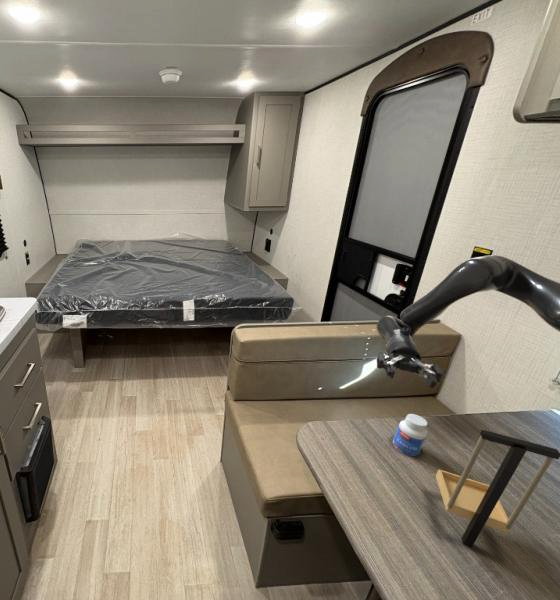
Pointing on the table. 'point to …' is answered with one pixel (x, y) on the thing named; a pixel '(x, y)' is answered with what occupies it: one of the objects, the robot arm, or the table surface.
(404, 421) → the pill bottle
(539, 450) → the hanging stand
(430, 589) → the table surface
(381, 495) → the table surface
